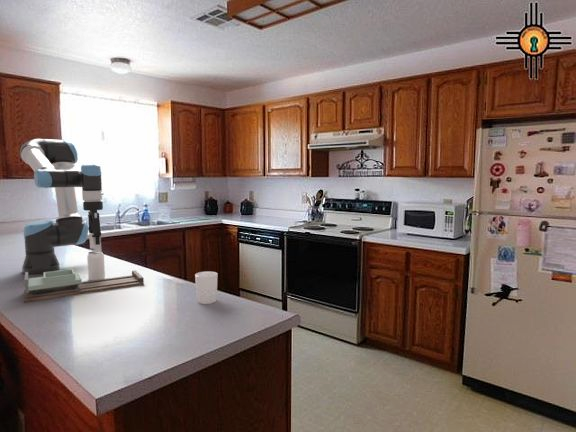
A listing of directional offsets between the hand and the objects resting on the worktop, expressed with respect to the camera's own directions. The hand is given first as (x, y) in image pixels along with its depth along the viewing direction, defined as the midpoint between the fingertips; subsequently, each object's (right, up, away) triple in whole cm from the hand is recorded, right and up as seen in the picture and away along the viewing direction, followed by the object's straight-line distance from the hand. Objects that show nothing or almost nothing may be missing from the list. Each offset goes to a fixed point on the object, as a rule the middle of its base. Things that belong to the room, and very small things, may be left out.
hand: (95, 249), depth 168 cm
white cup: (+54, -16, -28) cm, 63 cm away
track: (+2, -14, -12) cm, 19 cm away
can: (0, -13, +2) cm, 13 cm away
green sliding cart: (-7, -13, -18) cm, 24 cm away
